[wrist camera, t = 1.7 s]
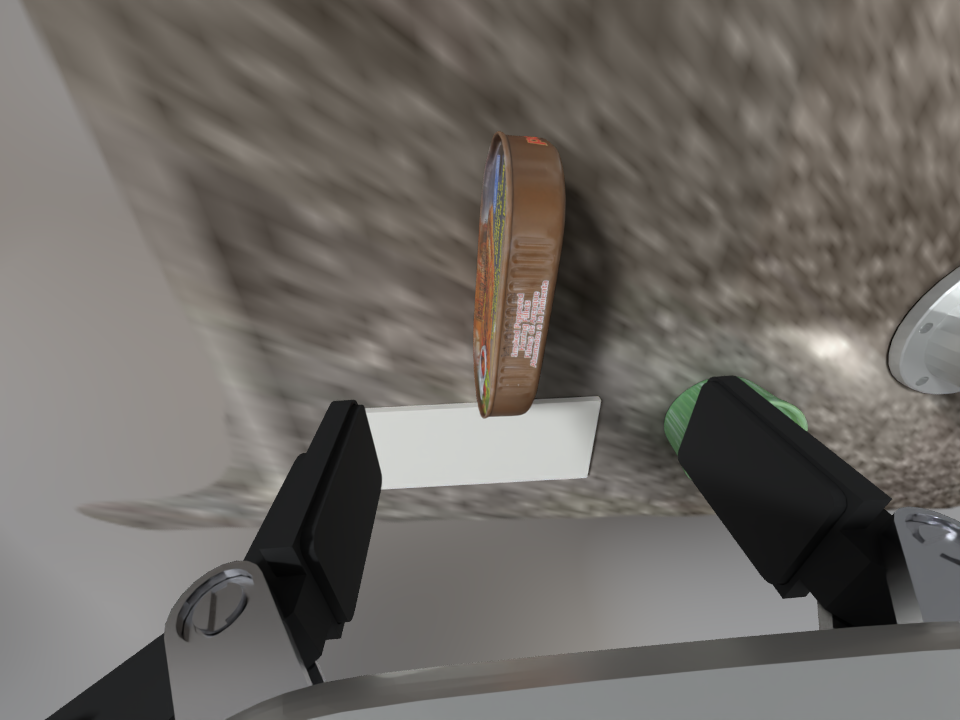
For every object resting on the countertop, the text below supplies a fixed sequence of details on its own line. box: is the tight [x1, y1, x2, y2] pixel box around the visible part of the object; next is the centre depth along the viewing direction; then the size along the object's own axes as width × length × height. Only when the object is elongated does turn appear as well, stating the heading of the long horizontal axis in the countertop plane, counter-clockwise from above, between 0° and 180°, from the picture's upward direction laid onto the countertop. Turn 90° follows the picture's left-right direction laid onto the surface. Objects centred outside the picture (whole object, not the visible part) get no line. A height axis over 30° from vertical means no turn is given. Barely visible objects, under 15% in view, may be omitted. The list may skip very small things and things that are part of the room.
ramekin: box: [664, 377, 808, 479], centre depth 28 cm, size 9×9×4 cm
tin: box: [473, 131, 566, 419], centre depth 19 cm, size 15×3×8 cm, turn 176°
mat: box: [365, 396, 601, 489], centre depth 30 cm, size 20×9×1 cm, turn 92°
